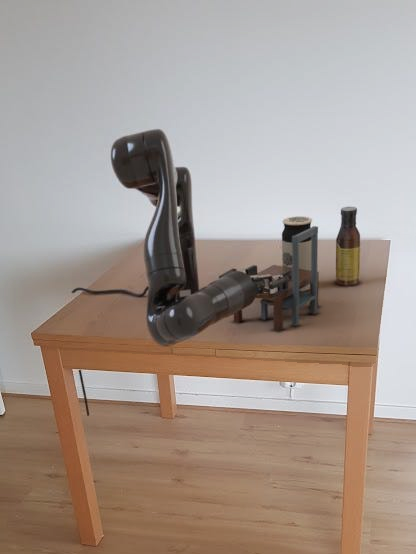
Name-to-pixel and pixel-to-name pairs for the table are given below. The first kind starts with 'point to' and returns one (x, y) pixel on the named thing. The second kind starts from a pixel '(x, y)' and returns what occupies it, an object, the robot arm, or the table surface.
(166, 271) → the robot arm
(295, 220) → the travel mug
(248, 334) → the table surface
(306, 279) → the walnut table
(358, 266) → the sauce bottle
